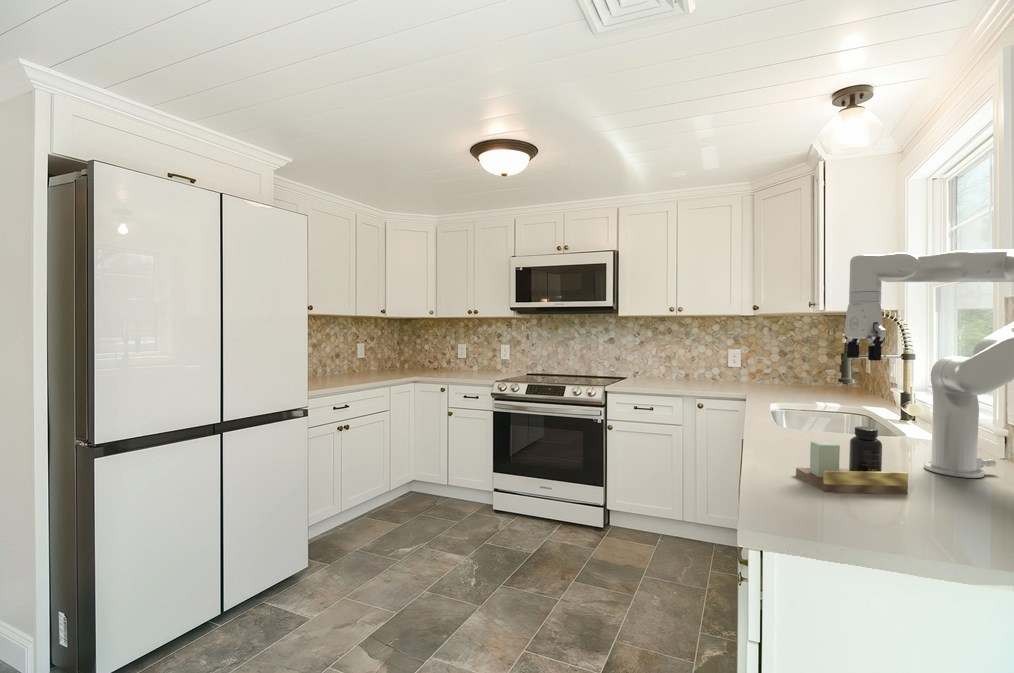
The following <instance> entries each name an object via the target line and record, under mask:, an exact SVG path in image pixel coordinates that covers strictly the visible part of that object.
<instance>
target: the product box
mask: <svg viewBox="0 0 1014 673" xmlns="http://www.w3.org/2000/svg"><path fill="white" fill-rule="evenodd" d="M840 446H841V445H839V444H837V443H834V442H832V441H810V451H809V452H810V454H809V455H810V457H809V468H810V473H812V474H814V475H816V476H818V477H824V471H839V469H840V457H841V456H840V455H841V454H840V452H841V451H840V449H841V448H840Z"/></svg>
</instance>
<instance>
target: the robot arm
mask: <svg viewBox="0 0 1014 673" xmlns="http://www.w3.org/2000/svg"><path fill="white" fill-rule="evenodd" d="M882 282H887V283H985V282H986V283H987V282H988V283H1011V282H1012V283H1014V249H1013V248H1011V249H986V250H985V249H982V250H981V249H977V250H976V249H975V250H974V249H973V250H972V249H971V250H970V249H969V250H968V249H967V250H966V249H964V250H961V249H960V250H954V251H947V252H942V253H937V254H930V255H929V254H928V255H914V254H912V253H908V252H905V251H904V252H901V251H900V252H894V253H888V254H886V253H885V254H859V255H854V256H853V257H852V258H850V260H849V287H848V288H849V289H848V291H849V292H848V293H849V294H848V306H847V310H846V315H845V323H844V324H845V325H844V329H843V334H844V338H845V344H846V358H848V359H858V358H859V357H860V344H859V342H860V340H862V339H867V341H868V343H869V345H867V347H868V348H867V349H868V350H867V351H868V352H867V361H881V360H882V347H883V346H884V342H885V340H886V335H887V331H888V330H887V329H885V328H884V327H883V312H882V305H881V304H882ZM972 352H973V353H972V354H973V355H972V356H971V357H968V356H959V355H950V356H945V357H942V358H940V359H939V360H938V361H936V362H935V363H934V364H933V366H932V367H931V370H930V383H931V384H930V385H931V390H932V403H933V404H932V419H931V420H932V425H931V427H932V428H931V456H930V457H931V459H930V461H926V462H924V463H923V468H924V469H926V470H928V471H930V472H933V473H936V474H940V475H945V476H950V477H957V478H965V479H966V478H968V479H977V478H979V479H980V478H983V477H985V471H984V470H983V469H982V468H984V467H987V468H988V467H989V468H990V467H992V468H993V467H996V465H997V462H996V460H994V459H982V457H979V456H978V445H979V443H978V442H979V418H980V417H979V416H980V406H979V404H980V403H979V398H978V396H981V395H985V394H988V393H991V392H993V391H996V390H998V389H1000V388H1002V387H1003V386H1005V385H1007V384H1008V383H1010V382H1011V383H1012V382H1013V381H1014V321H1013V322H1011V323H1010V324H1008V325H1006V326H1004V327H1002V328H1001V329H998V330H997V331H995V332H993V333H991V334H989V335H988V336H985V337H983V338H982V339H980V340H979V341H978V342H977V343H976V344H975V345H974V348H973V351H972Z"/></svg>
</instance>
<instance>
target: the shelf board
mask: <svg viewBox="0 0 1014 673" xmlns="http://www.w3.org/2000/svg"><path fill="white" fill-rule="evenodd" d="M796 475H797V476H796ZM795 476H796V477H798V478H800V479H802V480H803V479H804V480H803V481H805V482H806V483H808V482H809V484H811V485H812V486H814V487H815V488H817V489H819V490H820V489H821V491H822V492H824V493H826V492H834V494H835V493H836V494H837V493H838V494H840V493H841V494H879V495H880V494H882V495H884V494H885V495H886V494H887V495H897V494H898V495H908V494H909V493H908V492H909V473H908V472H906V471H882V472H873V471H849V468H839V471H824V477H818V476H816V475H814V474H812V473H810V467H796V468H795Z"/></svg>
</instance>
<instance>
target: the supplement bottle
mask: <svg viewBox="0 0 1014 673" xmlns="http://www.w3.org/2000/svg"><path fill="white" fill-rule="evenodd" d="M878 432H879V430H878V428H875V427H869V426H855V427H854V434H853V435H854V436H853V437H851V438H850V440H849V459H848V463H849V464H848V469H849V471H873V472H883V471H882V468H883V465H882V464H883V463H882V462H883V443H882V442H881V440H879V439H878V437H879V434H878Z"/></svg>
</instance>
